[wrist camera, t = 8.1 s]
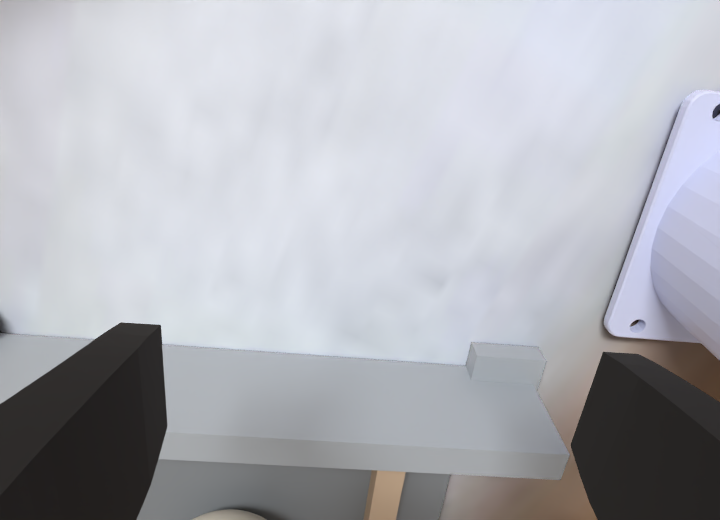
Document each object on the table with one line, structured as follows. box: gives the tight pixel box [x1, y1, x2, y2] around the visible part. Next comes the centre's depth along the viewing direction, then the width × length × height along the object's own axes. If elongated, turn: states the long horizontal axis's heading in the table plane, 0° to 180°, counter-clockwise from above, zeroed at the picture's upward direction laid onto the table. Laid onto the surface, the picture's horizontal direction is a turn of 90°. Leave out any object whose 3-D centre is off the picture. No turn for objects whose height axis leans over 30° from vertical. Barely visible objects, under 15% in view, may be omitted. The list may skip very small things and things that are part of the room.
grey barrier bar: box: [0, 333, 570, 480], centre depth 17 cm, size 20×3×4 cm, turn 83°
